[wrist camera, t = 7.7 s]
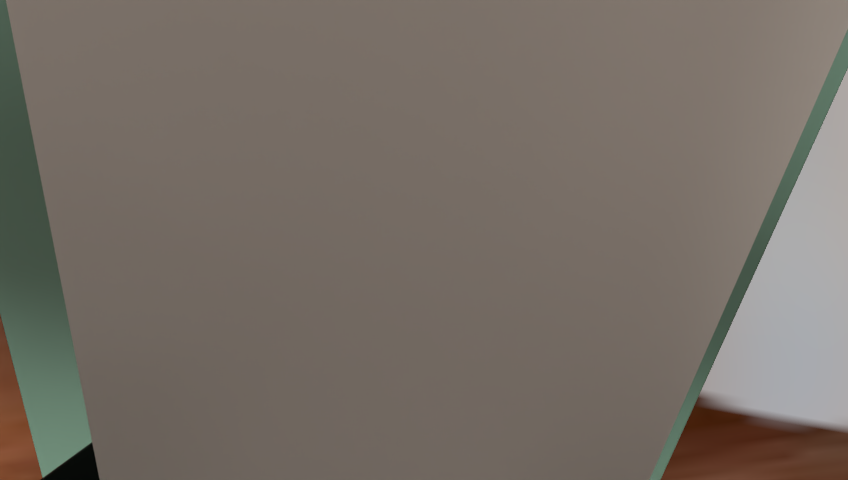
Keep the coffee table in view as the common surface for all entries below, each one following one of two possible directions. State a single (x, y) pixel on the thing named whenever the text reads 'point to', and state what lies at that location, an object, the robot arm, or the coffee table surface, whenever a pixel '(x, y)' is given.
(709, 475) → the coffee table surface
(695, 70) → the grey rectangular block
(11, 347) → the board
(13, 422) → the coffee table surface
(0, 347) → the coffee table surface
